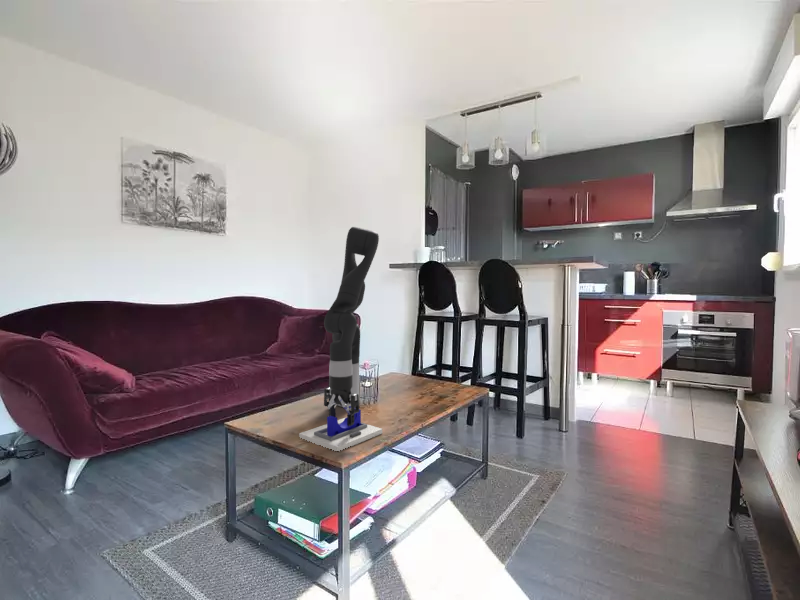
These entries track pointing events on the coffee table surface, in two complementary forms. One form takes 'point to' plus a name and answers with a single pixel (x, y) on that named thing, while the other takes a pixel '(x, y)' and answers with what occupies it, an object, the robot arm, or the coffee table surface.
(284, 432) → the coffee table surface
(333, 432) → the cable clip
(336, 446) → the board
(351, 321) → the robot arm
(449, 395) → the coffee table surface
